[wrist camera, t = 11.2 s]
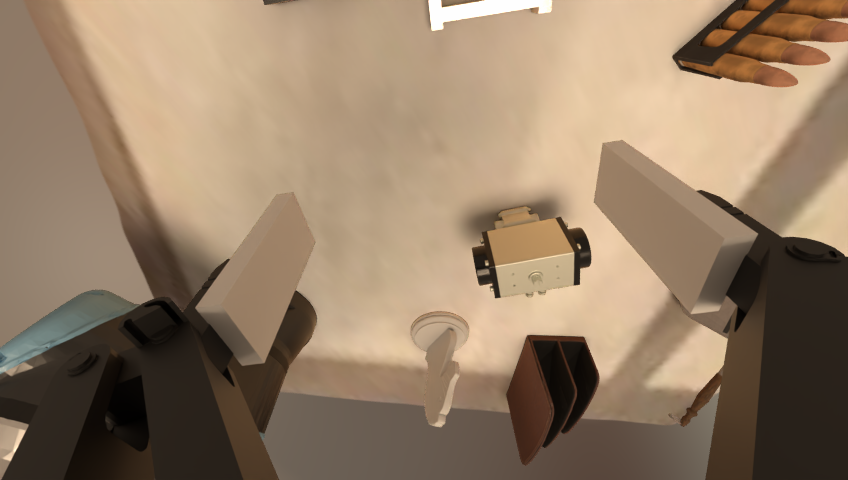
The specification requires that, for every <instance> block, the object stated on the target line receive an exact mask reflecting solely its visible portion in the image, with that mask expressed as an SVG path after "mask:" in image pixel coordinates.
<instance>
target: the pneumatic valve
mask: <svg viewBox="0 0 848 480" xmlns="http://www.w3.org/2000/svg"><path fill="white" fill-rule="evenodd" d="M530 211H531V208H529V207H528V208H527V207H526V206H524V207H519V208H514V209H510V210H505V211H501V213H498V215H499V218H502V220H499V221H495V222H494V226H495V230H491V231H486V232H482V235H483V239H480V241H481V244H483V243H484V246H478V247H473V248H472V252H473V258H474V263H475V269H476V274H477V278H478V283H479V285H480V286H481V285H487V284H492V286H490V291H494V295H495V298H501V297H507V296H513V295H519V294H525V293H526V296H527V297H532V296H533V292H537V291H538V293H539V294H540V295H545V294H546V290H549V289H556V288H562V287H568V286H574V285H580V268H586V267H589V266H590V264H591V250H590V245H589V241H588V239H587V236H586V234H585V232H584V231H583V229H582V228H573V229H567V227H568V224H567V222H565V223H564V222H563V220H562V218H561V217H557V218H552V219H547V220H542V221H540V220H539V217H538V214H537V213H534V214H529V213H528V212H530Z"/></svg>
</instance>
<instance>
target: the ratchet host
mask: <svg viewBox="0 0 848 480" xmlns="http://www.w3.org/2000/svg"><path fill="white" fill-rule="evenodd" d="M290 1H296V0H263V2H264V5H270V4H278V3H284V2H290ZM551 5H552V0H478V1H472V2H466V3H460V4H454V5H448V6H442V7H441V0H429V9H430V19H431V28H432V31H434V30H440V29H443V22H446V21H453V20H459V19H465V18H471V17H477V16H483V15H490V14H496V13H502V12H508V11H514V10H520V9H527V8H532V10H531V12H533V13H538V14H540V13H546V12H551Z"/></svg>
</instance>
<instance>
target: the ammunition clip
mask: <svg viewBox="0 0 848 480" xmlns="http://www.w3.org/2000/svg"><path fill="white" fill-rule="evenodd" d="M832 18H848V0H736V1H734V2H733V3H732V4H731V5H730V6H729V7H728V8H727V9H725V10H724V11H723V12H722V13H721V14H720V15H719V16H717V17H716V18H715V19H714V20H713V21H712V22H711V23H709V24H708V25H707V26H706V27H705V28H704V29H703V30H702V31H700V32H699V33H698V34H697V35H696V36H695V37H694V38H692V39H691V40H690V41H689V42H688V43H687V44H686V45H684V46H683V47H682V48H681V49H680V50H679V51H678V52H677V53H675V54H674V55H673V59H674V61H675V62H676V64H677V65H678V66H679V68H680V69H681V70H683V71H687V72H692V73H696V74H700V75H705V76H709V77H713V78H717V79H721V78H722V77H724V78H727V79H731V80H734V81H739V82H751V83H755V84H761V85H765V86H772V87H789V86H794V85H797V84H798V80H797V79H796V78H795V77H794V76H793V75H791V74H790V73H788V72H786V71H784V70H782V69H779V68H775V67H771V66H769V65H766V64H763V63H761V62H766V63H768V62H778V63H788V64H793V65H818V64H823V63H827V62H829V61H830V57H829V56H828V55H827V54H826V53H824V52H823V51H821V50H819V49H816V48H813V47H810V46H805V45H800V44H797V43H792V42H796V41H819V42H844V41H848V24H846V23H842V22H837V21H829V20H826V19H832ZM789 41H791V42H789ZM759 61H761V62H759Z"/></svg>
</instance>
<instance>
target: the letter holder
mask: <svg viewBox="0 0 848 480" xmlns="http://www.w3.org/2000/svg"><path fill="white" fill-rule="evenodd" d="M598 384H599V373H598V370H597V368H596V365H595V363H594V360H593V358H592V355H591V353H590V350H589V348H588V345H587V343H586V340H585V338H584V337H565V336H536V335H528V336H527V339H526V342H525V345H524V348H523V351H522V354H521V356H520V359H519V362H518V364H517V367H516V370H515V373H514V376H513V378H512V381H511V384H510V387H509V390H508V392H507V396H506V397H507V401H508V405H509V409H510V414H511V419H512V423H513V428H514V433H515V437H516V442H517V446H518V451H519V454H520V459H521V462H522V464H524V465H525V466H526V465H528V464H529V463H530V462H531V461H532V460H533V459H534V457H535V456H536V455H537V453H538V452H539V450H540V449H541V447H542V446H543V447H544V448H546V447H548V446H549V445H550V444H551V443H552V442H553V441H554V440H555V439H556V438H557V436H558V435H559V433H560V432H562V433H563V434H567V433H569V432H570V431H571V429H572V428H573V427H574V426H575V425H576V424H577V422H578V421H579V420H580V418H581V417H582V415H583V414H584V412H585V411H586V409H587V407H588V406H589V404H590V402H591V400H592V398H593V396H594V394H595V392H596V389H597V387H598Z"/></svg>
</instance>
